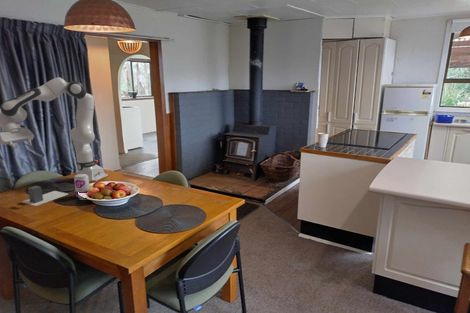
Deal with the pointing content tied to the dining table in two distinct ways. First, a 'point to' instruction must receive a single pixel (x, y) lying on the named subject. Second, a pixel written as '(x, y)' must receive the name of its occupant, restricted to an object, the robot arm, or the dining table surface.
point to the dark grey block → (35, 194)
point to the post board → (47, 197)
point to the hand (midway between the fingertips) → (23, 146)
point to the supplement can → (81, 184)
